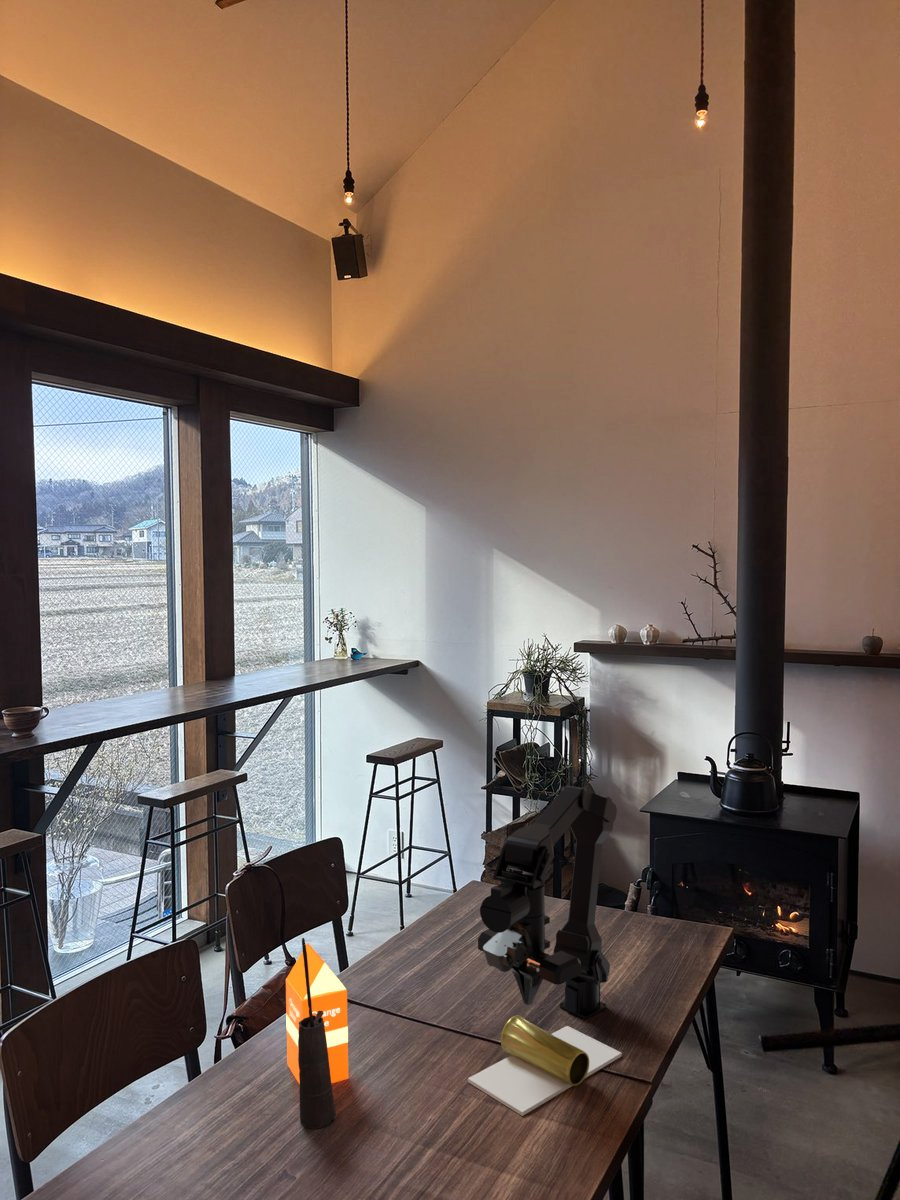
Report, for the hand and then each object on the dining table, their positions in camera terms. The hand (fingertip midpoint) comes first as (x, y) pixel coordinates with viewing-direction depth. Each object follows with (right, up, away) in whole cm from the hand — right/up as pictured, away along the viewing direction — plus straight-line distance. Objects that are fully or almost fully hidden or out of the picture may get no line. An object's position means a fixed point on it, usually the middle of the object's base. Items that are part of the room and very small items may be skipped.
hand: (528, 1003), depth 148 cm
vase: (-3, -6, +2) cm, 7 cm away
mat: (+3, -10, -3) cm, 10 cm away
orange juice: (-35, -10, -2) cm, 36 cm away
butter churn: (-33, -11, -14) cm, 37 cm away
